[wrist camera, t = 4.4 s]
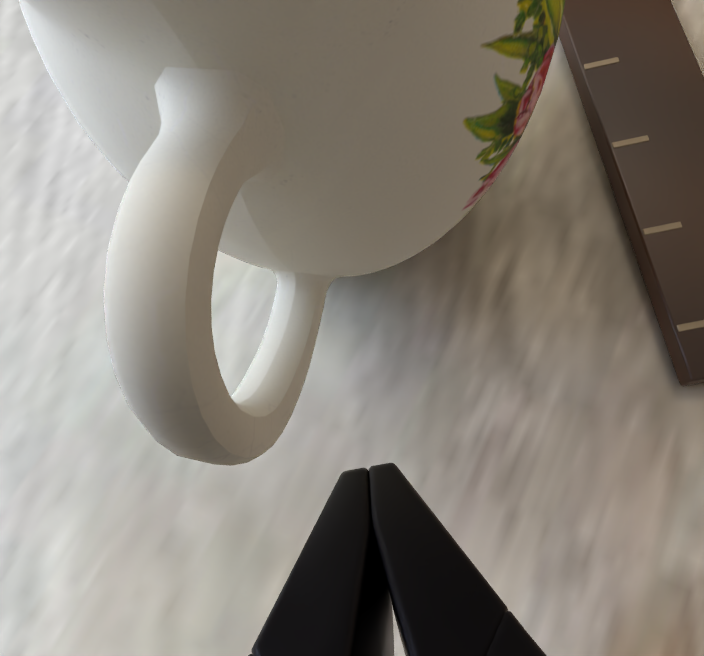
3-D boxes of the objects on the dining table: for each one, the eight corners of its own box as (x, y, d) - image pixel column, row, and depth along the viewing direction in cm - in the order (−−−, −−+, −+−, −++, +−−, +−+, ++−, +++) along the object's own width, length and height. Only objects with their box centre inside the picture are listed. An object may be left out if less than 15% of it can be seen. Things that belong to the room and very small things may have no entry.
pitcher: (120, 453, 18) (-712, 320, 5) (234, -17, 23) (-22, -731, 10) (486, 506, 16) (763, 530, 3) (526, -12, 21) (700, -862, 8)
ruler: (806, 363, 16) (828, 355, 15) (679, 387, 17) (693, 380, 16) (637, -40, 21) (646, -63, 20) (539, -18, 21) (544, -39, 20)
